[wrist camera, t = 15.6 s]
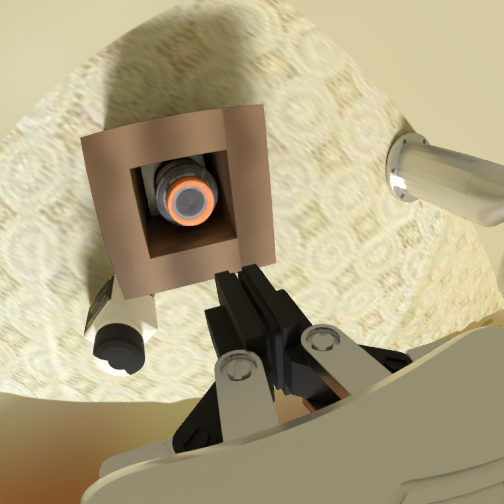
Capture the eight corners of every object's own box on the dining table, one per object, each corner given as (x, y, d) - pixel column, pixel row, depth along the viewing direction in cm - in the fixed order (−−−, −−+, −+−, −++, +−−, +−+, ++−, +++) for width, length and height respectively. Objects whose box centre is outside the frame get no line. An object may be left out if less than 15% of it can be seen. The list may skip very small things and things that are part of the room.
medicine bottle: (114, 270, 36) (106, 326, 26) (155, 297, 40) (162, 356, 30) (88, 306, 37) (77, 365, 27) (128, 329, 40) (130, 390, 30)
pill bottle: (199, 205, 36) (220, 239, 26) (151, 202, 33) (152, 236, 24) (206, 157, 33) (231, 172, 24) (156, 152, 31) (159, 165, 22)
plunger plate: (200, 144, 33) (201, 144, 33) (208, 201, 37) (209, 203, 36) (139, 156, 32) (138, 157, 31) (150, 214, 35) (150, 216, 34)
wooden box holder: (227, 109, 33) (263, 104, 22) (240, 223, 39) (275, 262, 29) (103, 133, 29) (80, 137, 19) (129, 249, 36) (124, 300, 25)
